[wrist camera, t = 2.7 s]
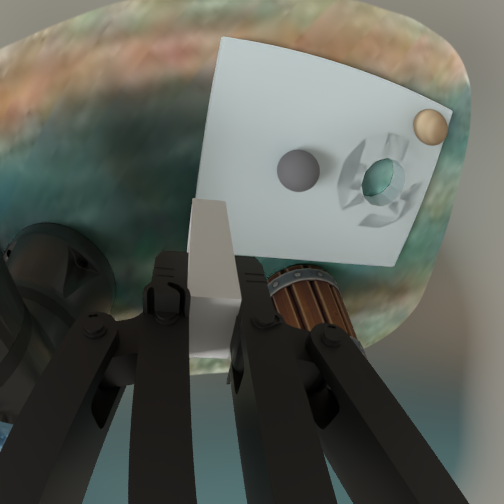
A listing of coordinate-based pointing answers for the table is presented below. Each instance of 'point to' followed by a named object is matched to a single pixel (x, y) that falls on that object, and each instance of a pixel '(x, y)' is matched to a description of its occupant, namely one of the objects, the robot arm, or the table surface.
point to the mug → (309, 299)
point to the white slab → (320, 146)
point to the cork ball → (430, 127)
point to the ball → (298, 170)
